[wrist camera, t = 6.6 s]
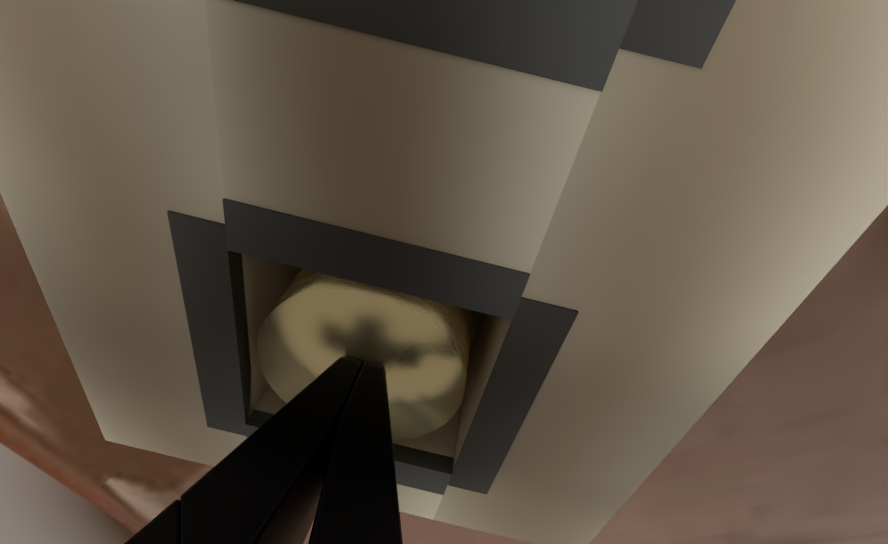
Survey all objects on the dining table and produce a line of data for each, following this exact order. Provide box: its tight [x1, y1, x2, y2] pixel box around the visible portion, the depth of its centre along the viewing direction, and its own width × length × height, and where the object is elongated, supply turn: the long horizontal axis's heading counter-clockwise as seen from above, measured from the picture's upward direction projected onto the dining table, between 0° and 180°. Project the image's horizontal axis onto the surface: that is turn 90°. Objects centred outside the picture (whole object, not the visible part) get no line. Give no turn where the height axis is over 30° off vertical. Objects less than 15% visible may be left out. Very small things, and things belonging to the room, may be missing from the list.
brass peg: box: [257, 269, 474, 441], centre depth 10 cm, size 4×4×5 cm
